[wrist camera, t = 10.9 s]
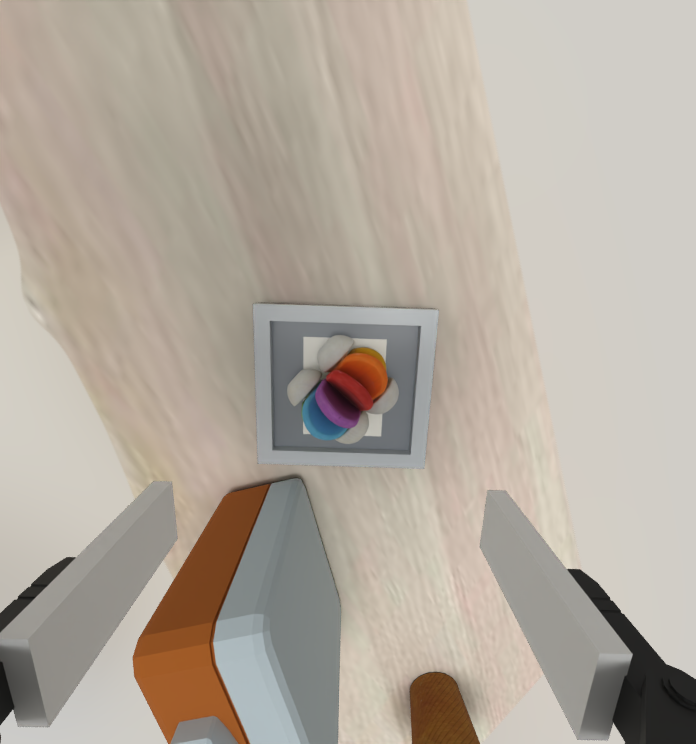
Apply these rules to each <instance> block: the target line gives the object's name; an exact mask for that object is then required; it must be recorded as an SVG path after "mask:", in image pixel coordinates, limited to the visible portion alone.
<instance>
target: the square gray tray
mask: <svg viewBox="0 0 696 744" xmlns="http://www.w3.org/2000/svg"><path fill="white" fill-rule="evenodd" d="M438 316H439V310H437V309H427V308H398V307H368V306H338V305H309V304H279V303H254V304H253V324H254V357H255V390H256V423H257V456H258V464H287V465H319V466H352V467H384V468H416V469H424V466H425V455H426V445H427V434H428V423H429V412H430V402H431V391H432V380H433V369H434V359H435V348H436V337H437V326H438ZM335 335H344V336H348V337H350V338H352V339H353V340H354V344H353V345H352V347H351V348H350V349H349V351H348V353H349V352H350V351H351V350H352V349H354V348H360V347H366V348H371V349H373V350H375V351H377V352H378V353H380V354H381V355H382V357H383V358H384V360H385V363H386V372H387V377H388V378H393V379H394V380H395V381H396V383H397V385H398V389H399V396H398V400H397V402H396V404H395V405H394V406H393V407H392V408H391V409H390V410H389V411H387V412H386V413H383V414H371V413H368V412H366V413H367V414H368V418H369V427H368V430H367V432H366V434H365V435H364V436H363V437H362V438H361V439H360V440H359V441H358V442H356V443H352V444H343V443H340V442H338V441H336V440H335V439H334V440H321V439H318V438H315V437H313V436H312V435H311V434H310V433H309V431H308V430H307V429H306V427H305V424H304V422H303V419H302V403H303V401H304V400H305V399H303V400H302V401H301V402H300V403H299V404H298V405H297V406H293V405H292V404H291V402H290V400H289V398H288V394H287V387H288V384H289V383H290V382H291V381H292V380H293V378H294V377H295V376H296V375H297V374H298V373H299V372H300V371H301V370H303V369H315V370H318V371H321V373H322V377H321V380H323V379H326V376H327V375H328V374H329V373H330V372H323V371H322V370H321V369H320V367H319V364H318V359H317V356H318V351H319V350H320V348H321V347H322V346H323V345H324V344H325V343H326V342H327V341H328V340H329V339H330V338H331V337H332V336H335ZM348 353H347V354H348Z"/></svg>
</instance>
